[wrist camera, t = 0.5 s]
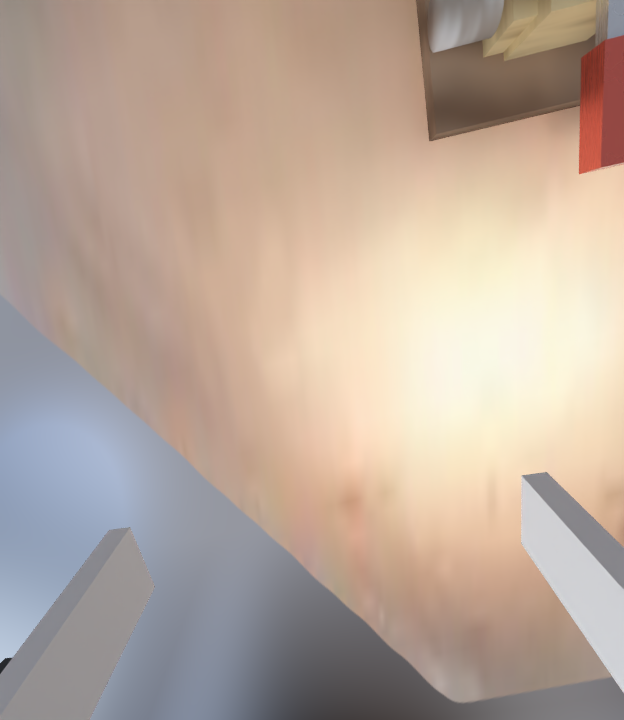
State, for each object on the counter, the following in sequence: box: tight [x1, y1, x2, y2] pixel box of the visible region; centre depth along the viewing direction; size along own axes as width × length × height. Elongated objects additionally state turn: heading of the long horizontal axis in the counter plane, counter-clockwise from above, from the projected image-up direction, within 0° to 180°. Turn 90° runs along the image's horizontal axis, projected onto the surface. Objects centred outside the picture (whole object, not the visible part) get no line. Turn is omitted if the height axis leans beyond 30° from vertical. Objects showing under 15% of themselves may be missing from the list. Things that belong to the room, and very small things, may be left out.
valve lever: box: [579, 0, 624, 174], centre depth 21 cm, size 14×3×2 cm, turn 12°
